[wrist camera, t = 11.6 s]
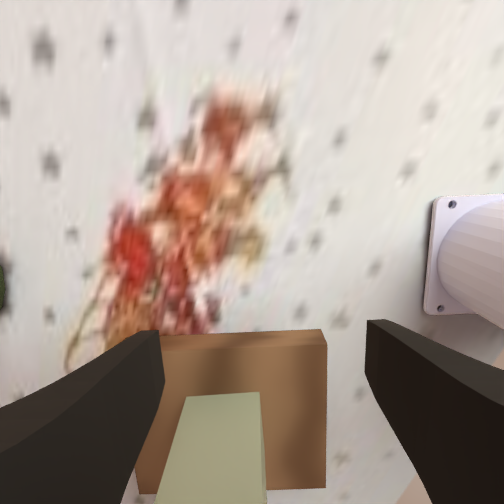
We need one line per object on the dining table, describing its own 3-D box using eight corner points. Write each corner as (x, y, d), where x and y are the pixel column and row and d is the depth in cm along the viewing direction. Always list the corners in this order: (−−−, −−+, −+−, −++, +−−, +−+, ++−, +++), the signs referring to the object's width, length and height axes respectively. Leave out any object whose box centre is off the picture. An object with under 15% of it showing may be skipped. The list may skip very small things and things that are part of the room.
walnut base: (320, 329, 22) (327, 344, 20) (319, 463, 25) (325, 488, 23) (126, 337, 22) (114, 353, 20) (148, 469, 25) (139, 494, 23)
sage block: (259, 391, 21) (262, 522, 13) (264, 451, 22) (270, 602, 14) (186, 396, 21) (146, 528, 13) (195, 455, 22) (164, 608, 14)
